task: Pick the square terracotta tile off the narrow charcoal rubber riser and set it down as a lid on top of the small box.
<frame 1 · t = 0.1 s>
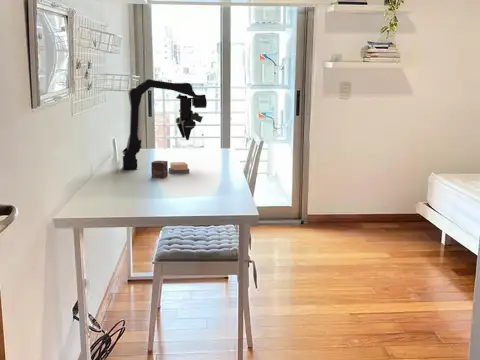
hand: (185, 138, 274), 15 cm above the table, fingers open, 9 cm apart
box: (159, 177, 251), on the table
riser: (178, 172, 262), on the table
tile: (178, 168, 262), point 2 cm above the table, touching riser
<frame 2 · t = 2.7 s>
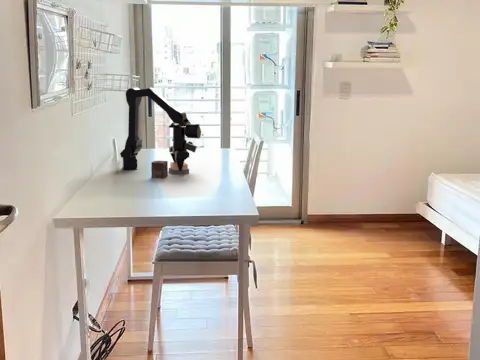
hand: (178, 169, 262), 2 cm above the table, fingers closed on tile, 7 cm apart
tile: (178, 168, 262), point 2 cm above the table, touching gripper, riser
everything else where it was.
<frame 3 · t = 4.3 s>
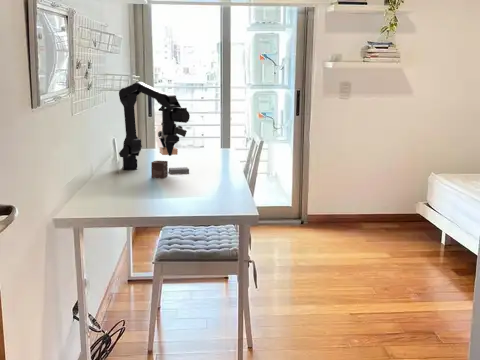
hand: (168, 154, 254), 10 cm above the table, fingers closed on tile, 7 cm apart
tile: (168, 153, 254), point 10 cm above the table, touching gripper
everything else where it was.
when the fingers open (8 cm above the table, at t = 6.0 s): tile stays where it is, resting on box.
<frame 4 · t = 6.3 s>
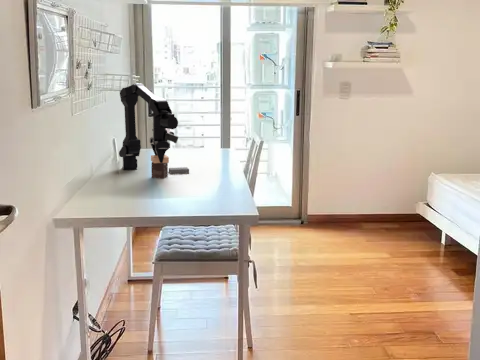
hand: (159, 160, 249), 8 cm above the table, fingers open, 9 cm apart
box: (159, 177, 251), on the table, touching tile
tile: (159, 161, 249), point 7 cm above the table, touching box
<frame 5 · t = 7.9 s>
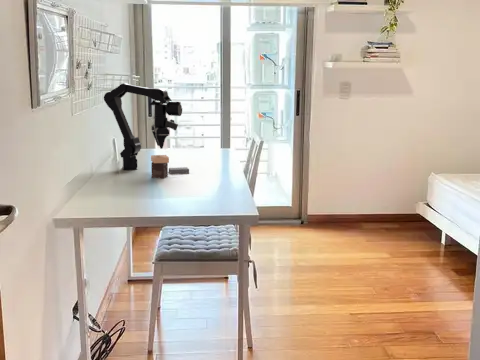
hand: (160, 147, 262), 12 cm above the table, fingers open, 9 cm apart
nothing on the table moved.
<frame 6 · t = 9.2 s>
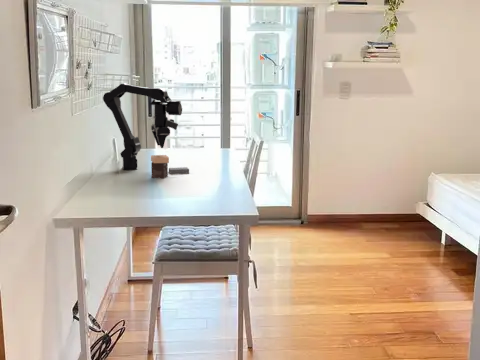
hand: (160, 146, 263), 12 cm above the table, fingers open, 9 cm apart
nothing on the table moved.
at the end: tile 0.1 cm off-centre on the box, point 7.5 cm above the box's base; tile tilted 0°; the gripper is holding nothing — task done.
